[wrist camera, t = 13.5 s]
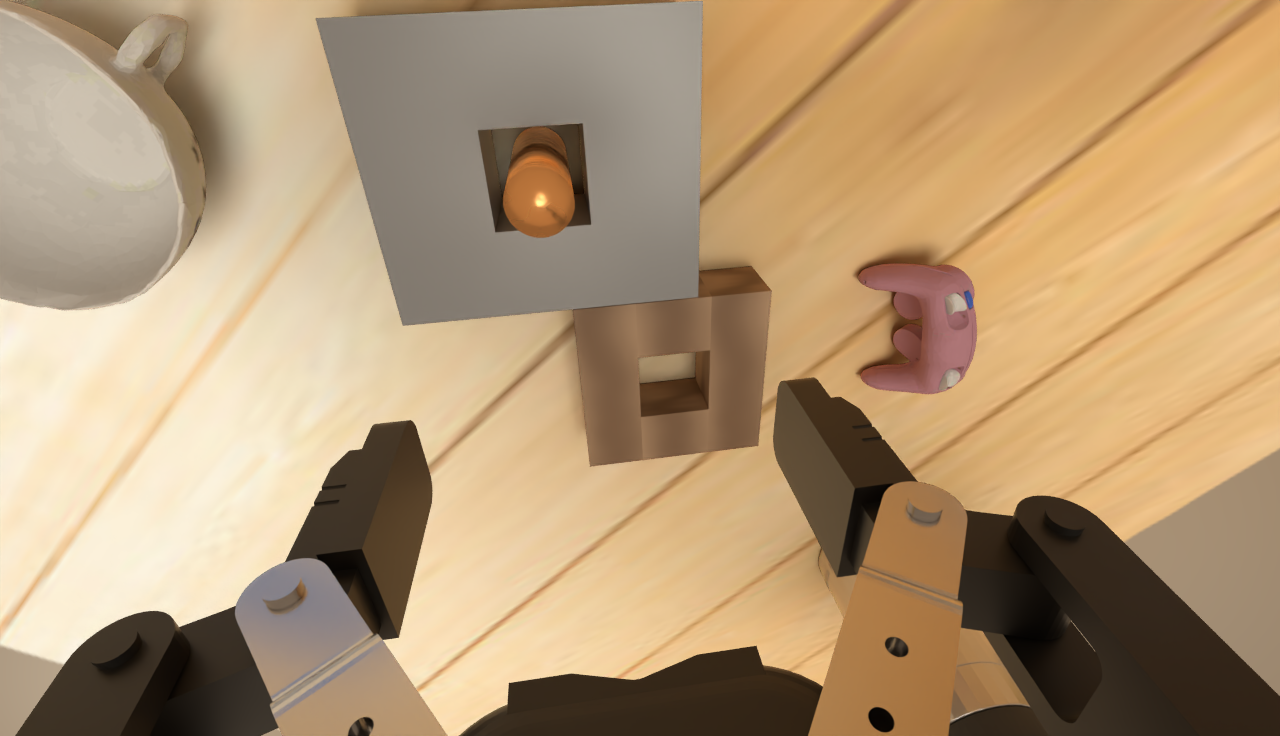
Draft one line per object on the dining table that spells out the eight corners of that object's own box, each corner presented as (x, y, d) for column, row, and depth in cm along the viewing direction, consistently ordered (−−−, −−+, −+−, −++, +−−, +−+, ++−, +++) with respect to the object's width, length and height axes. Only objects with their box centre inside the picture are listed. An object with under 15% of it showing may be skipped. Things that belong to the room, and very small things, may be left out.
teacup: (159, 294, 34) (65, 364, 27) (-95, 107, 28) (-297, 138, 21) (340, 132, 31) (284, 165, 24) (100, -118, 25) (-64, -166, 18)
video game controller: (892, 358, 46) (981, 391, 41) (854, 386, 45) (941, 424, 39) (894, 242, 41) (996, 263, 36) (851, 268, 39) (951, 294, 34)
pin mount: (751, 266, 39) (771, 290, 35) (741, 413, 45) (758, 445, 42) (570, 283, 37) (573, 309, 34) (586, 431, 44) (590, 466, 40)
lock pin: (563, 124, 33) (571, 164, 24) (569, 179, 34) (578, 234, 26) (509, 127, 32) (497, 169, 24) (517, 183, 34) (509, 240, 25)
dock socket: (675, 2, 30) (702, 1, 25) (677, 258, 38) (698, 297, 33) (355, 17, 29) (315, 18, 24) (422, 281, 36) (402, 325, 31)
